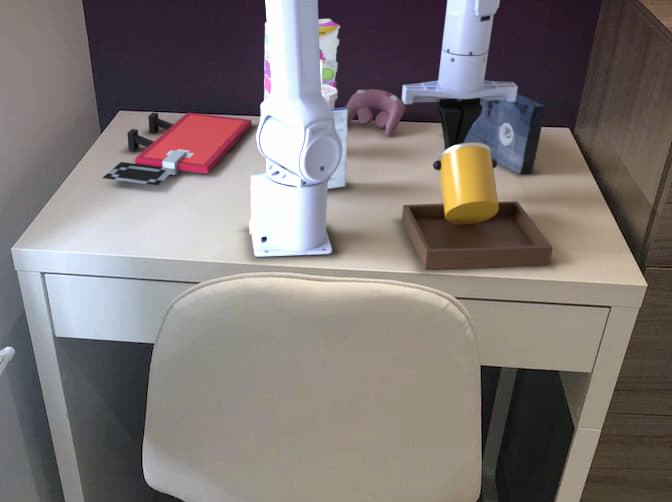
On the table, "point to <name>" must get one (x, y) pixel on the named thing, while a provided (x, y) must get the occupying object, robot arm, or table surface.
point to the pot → (468, 183)
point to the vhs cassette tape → (510, 131)
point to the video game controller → (378, 100)
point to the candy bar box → (328, 54)
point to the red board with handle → (180, 147)
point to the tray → (475, 238)
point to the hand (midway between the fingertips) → (451, 155)
